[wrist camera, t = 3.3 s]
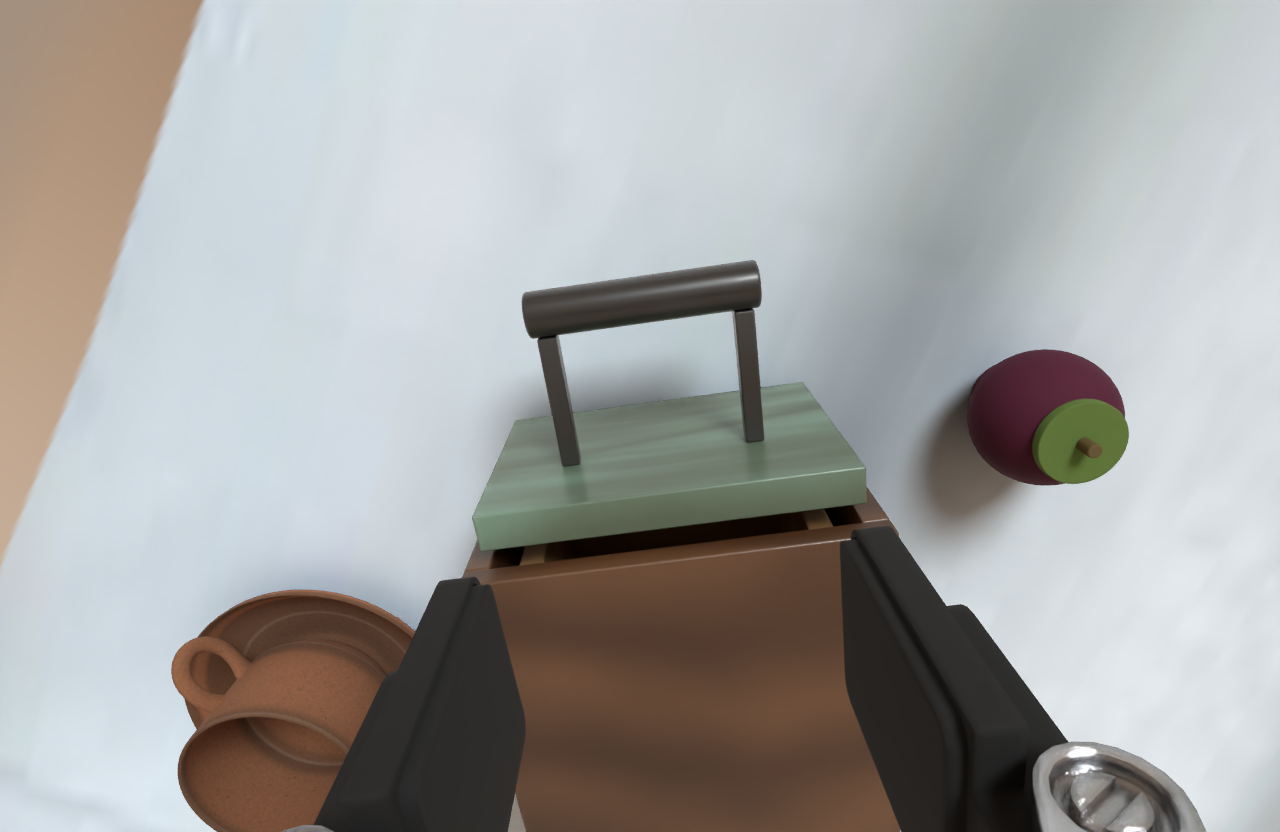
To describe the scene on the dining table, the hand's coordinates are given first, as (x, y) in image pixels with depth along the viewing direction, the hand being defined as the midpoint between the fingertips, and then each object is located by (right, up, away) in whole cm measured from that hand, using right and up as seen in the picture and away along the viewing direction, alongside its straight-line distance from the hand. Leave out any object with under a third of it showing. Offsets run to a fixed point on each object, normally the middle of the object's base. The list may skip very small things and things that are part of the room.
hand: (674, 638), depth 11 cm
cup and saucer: (-15, -9, +22) cm, 28 cm away
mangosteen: (+14, +4, +17) cm, 23 cm away
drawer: (+1, 0, +18) cm, 18 cm away
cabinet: (+1, -4, +20) cm, 21 cm away
